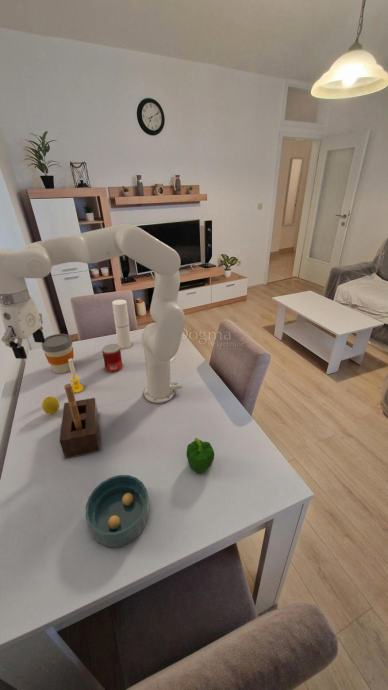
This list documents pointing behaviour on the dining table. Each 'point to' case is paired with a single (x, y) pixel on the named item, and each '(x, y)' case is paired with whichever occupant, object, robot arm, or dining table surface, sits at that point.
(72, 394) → the stirring stick
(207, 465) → the bell pepper
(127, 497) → the dough ball
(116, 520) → the dough ball
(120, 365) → the canned food
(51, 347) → the reusable coffee cup
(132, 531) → the bowl
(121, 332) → the cylindrical container
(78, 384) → the candle
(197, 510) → the dining table surface
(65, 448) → the stand
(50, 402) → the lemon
